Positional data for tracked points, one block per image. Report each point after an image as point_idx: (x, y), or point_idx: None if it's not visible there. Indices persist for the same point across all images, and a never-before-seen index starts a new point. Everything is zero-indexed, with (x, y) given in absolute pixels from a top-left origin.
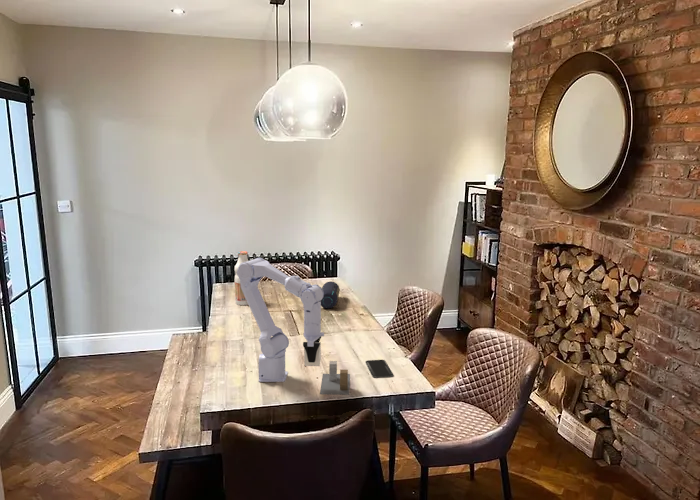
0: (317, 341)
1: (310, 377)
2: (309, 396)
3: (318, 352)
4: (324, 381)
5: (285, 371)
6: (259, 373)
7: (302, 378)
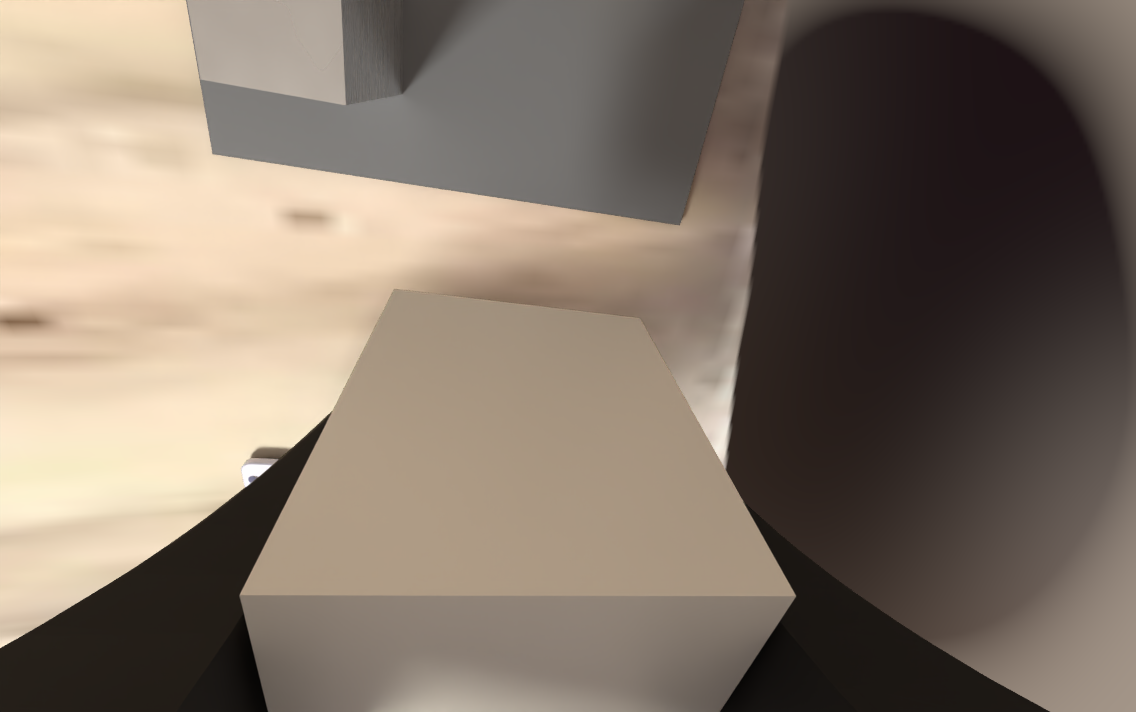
0: (226, 696)
1: (311, 284)
2: (672, 303)
3: (721, 501)
4: (420, 154)
5: (245, 477)
6: None
7: (341, 350)
